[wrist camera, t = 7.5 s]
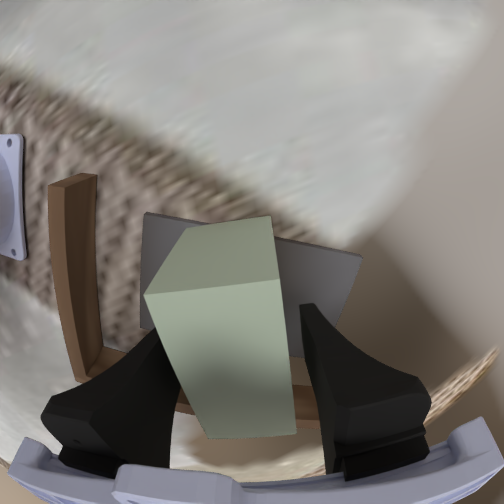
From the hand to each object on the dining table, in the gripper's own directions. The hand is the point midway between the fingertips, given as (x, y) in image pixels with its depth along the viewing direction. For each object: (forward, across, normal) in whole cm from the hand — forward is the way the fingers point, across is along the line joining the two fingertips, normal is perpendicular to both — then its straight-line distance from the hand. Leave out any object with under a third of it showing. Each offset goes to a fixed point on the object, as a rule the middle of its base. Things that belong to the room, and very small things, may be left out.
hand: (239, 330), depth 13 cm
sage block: (+3, 0, 0) cm, 3 cm away
